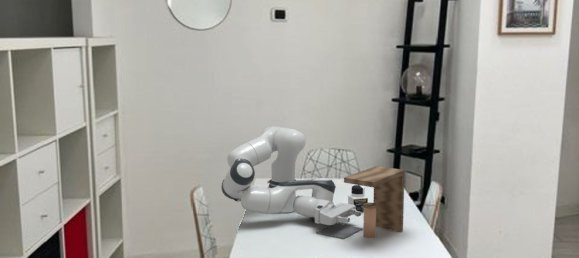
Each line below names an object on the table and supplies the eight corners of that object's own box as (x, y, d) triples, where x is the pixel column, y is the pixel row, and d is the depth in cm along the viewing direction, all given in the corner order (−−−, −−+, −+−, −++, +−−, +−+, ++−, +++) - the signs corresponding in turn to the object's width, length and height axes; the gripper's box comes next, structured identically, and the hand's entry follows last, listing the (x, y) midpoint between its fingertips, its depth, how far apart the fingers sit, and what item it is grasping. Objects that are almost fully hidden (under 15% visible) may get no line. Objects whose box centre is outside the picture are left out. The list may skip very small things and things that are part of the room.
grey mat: (316, 233, 236) (316, 231, 236) (336, 223, 248) (336, 222, 248) (343, 239, 229) (343, 237, 228) (362, 229, 240) (362, 228, 240)
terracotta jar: (360, 236, 232) (361, 204, 230) (367, 233, 236) (367, 201, 234) (372, 239, 228) (372, 206, 227) (378, 235, 233) (378, 203, 231)
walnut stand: (343, 241, 226) (343, 177, 222) (375, 225, 246) (376, 166, 242) (372, 248, 218) (373, 182, 214) (402, 230, 238) (404, 169, 234)
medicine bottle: (353, 213, 263) (353, 188, 261) (347, 209, 270) (348, 184, 268) (367, 212, 265) (368, 187, 263) (361, 208, 272) (362, 183, 270)
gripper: (338, 211, 252) (366, 218, 244) (312, 224, 236) (341, 231, 228) (338, 197, 251) (366, 203, 243) (313, 209, 235) (342, 216, 227)
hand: (354, 217), depth 235 cm, fingers open, 8 cm apart
